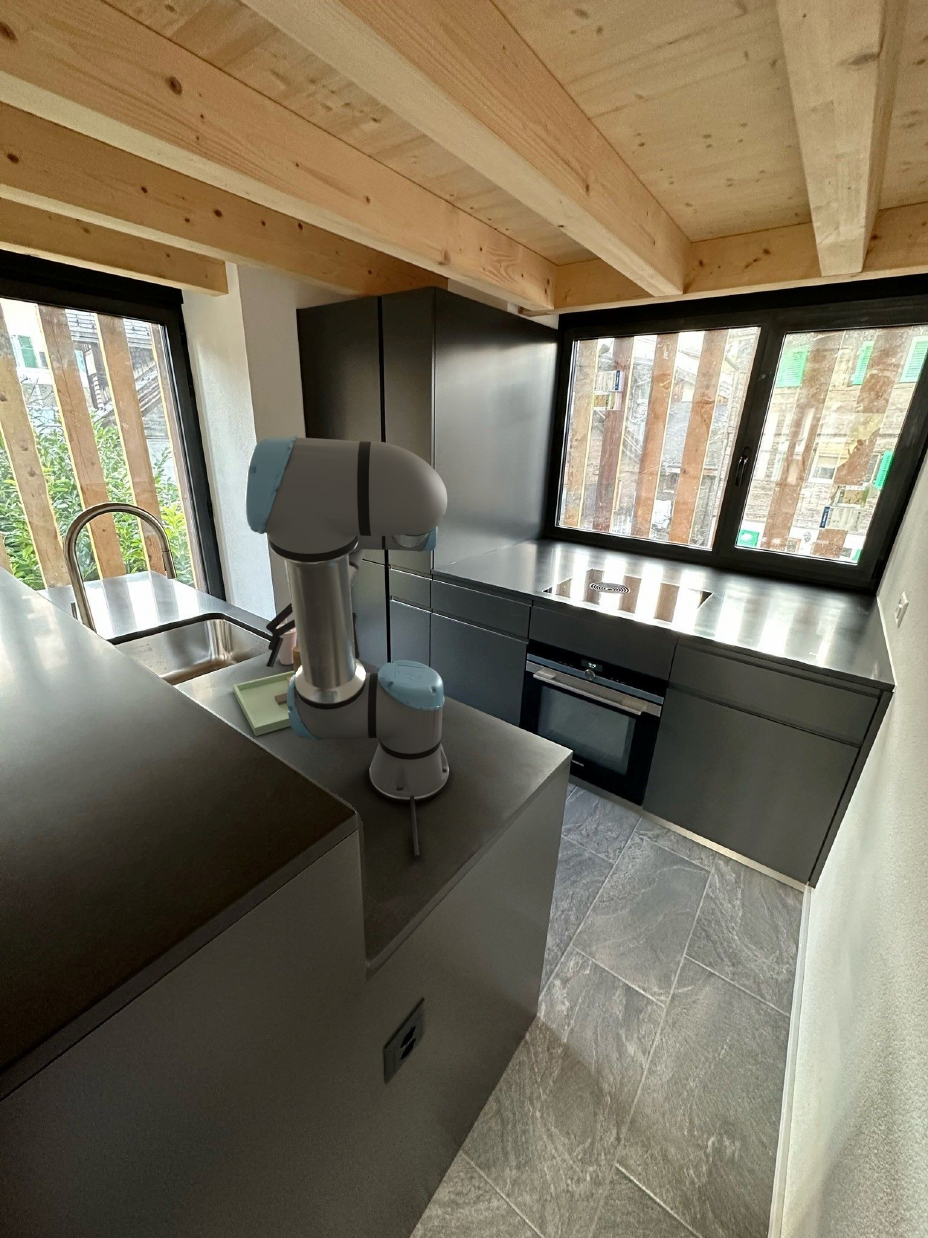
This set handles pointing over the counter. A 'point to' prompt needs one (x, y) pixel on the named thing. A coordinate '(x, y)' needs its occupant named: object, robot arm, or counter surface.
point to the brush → (295, 661)
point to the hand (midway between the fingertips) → (300, 677)
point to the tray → (264, 702)
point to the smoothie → (287, 645)
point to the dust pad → (281, 699)
